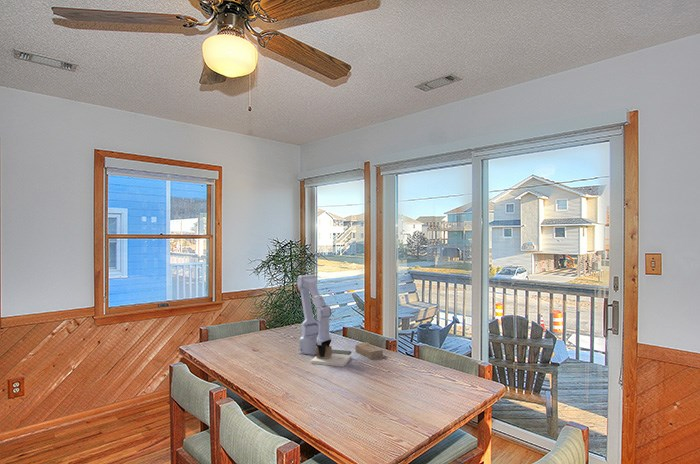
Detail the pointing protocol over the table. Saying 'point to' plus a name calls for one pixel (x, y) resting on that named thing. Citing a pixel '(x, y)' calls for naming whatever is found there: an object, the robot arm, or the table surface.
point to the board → (332, 360)
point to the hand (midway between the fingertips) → (323, 354)
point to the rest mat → (341, 352)
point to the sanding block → (327, 352)
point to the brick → (369, 351)
